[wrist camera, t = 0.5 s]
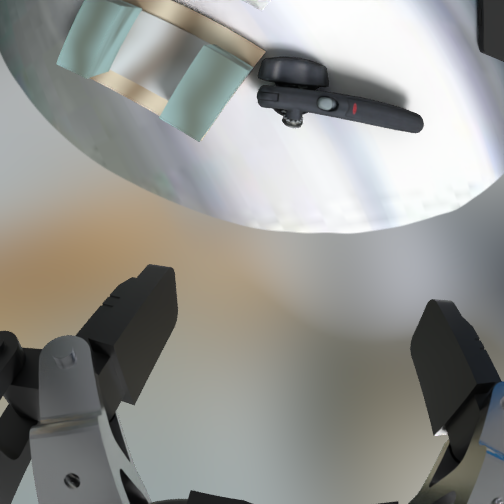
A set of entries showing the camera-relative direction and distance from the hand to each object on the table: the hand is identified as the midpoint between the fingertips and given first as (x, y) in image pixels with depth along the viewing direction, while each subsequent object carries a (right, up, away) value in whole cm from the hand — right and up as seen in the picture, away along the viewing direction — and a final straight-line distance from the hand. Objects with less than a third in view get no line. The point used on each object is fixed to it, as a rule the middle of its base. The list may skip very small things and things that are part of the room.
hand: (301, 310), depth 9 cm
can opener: (+8, +18, +19) cm, 28 cm away
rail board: (-11, +23, +17) cm, 30 cm away
